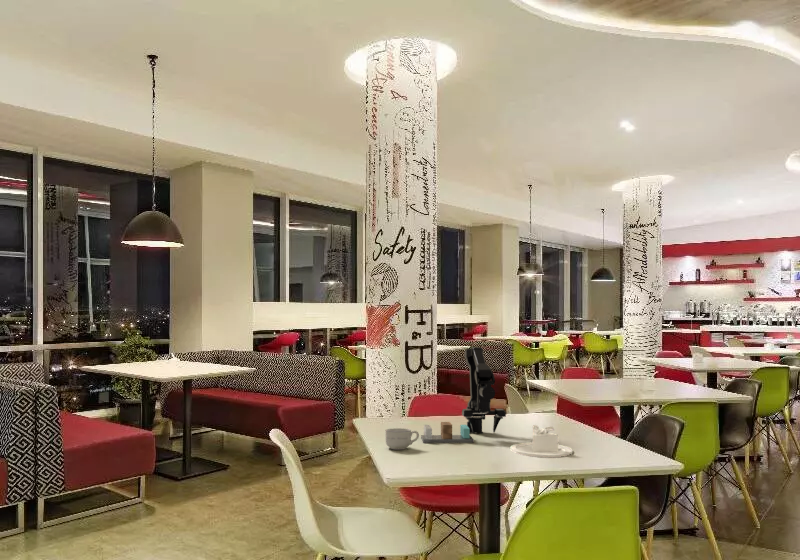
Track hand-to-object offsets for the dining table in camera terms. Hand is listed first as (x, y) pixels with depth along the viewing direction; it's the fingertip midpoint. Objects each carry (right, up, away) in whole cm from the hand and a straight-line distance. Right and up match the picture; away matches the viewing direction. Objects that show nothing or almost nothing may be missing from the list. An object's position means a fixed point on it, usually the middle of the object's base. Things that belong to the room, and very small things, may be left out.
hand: (483, 432), depth 285 cm
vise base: (-16, -3, -1) cm, 17 cm away
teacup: (-36, -2, -19) cm, 41 cm away
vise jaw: (-8, -2, -1) cm, 9 cm away
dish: (+21, -3, -21) cm, 30 cm away
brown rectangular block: (-17, -2, -1) cm, 17 cm away
